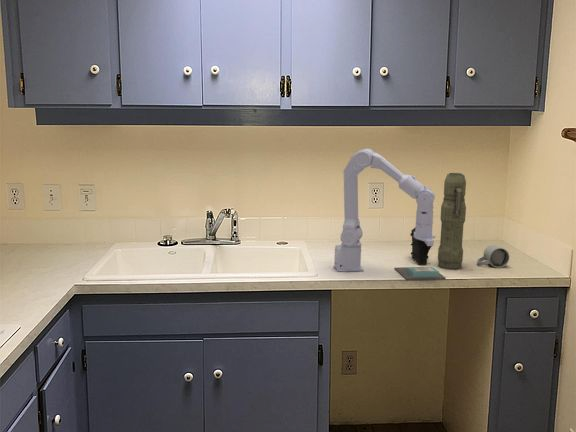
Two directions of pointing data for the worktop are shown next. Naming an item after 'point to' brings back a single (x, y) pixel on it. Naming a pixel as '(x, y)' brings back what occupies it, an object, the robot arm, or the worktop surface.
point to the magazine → (414, 251)
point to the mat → (404, 273)
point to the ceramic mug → (494, 257)
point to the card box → (423, 272)
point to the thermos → (452, 222)
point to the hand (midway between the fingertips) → (421, 261)
